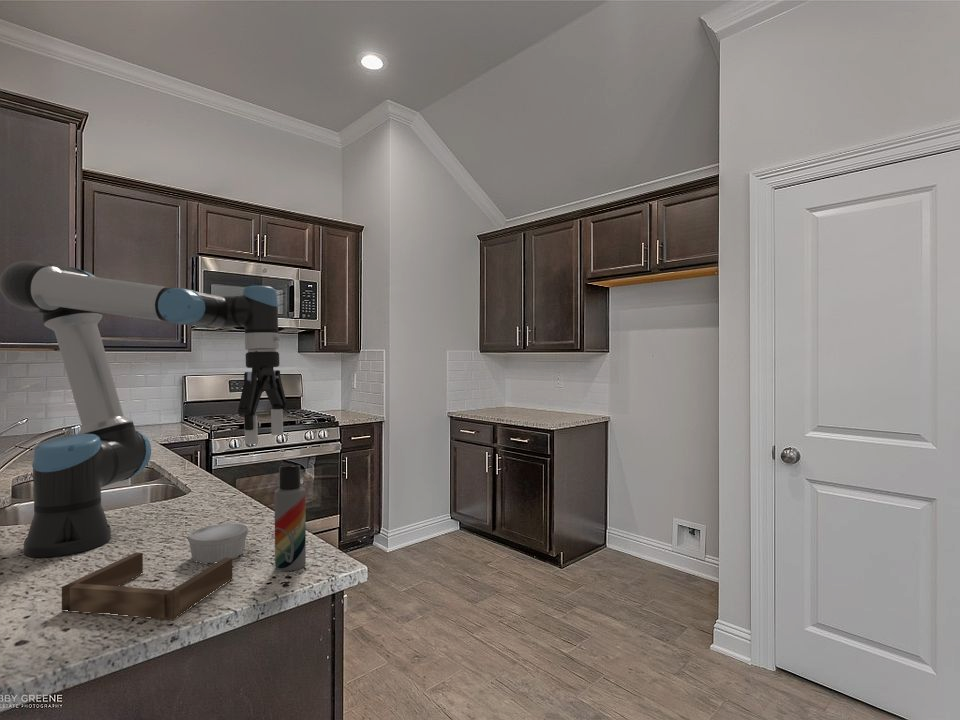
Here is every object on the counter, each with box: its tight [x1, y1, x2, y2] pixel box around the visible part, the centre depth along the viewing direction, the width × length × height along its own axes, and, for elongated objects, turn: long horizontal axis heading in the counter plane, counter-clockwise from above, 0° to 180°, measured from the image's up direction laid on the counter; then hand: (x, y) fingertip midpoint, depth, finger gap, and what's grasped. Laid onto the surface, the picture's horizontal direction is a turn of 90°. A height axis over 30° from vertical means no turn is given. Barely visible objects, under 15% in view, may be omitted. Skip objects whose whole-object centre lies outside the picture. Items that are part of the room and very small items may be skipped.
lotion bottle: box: [274, 464, 307, 572], centre depth 104 cm, size 6×6×20 cm
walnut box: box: [61, 552, 233, 620], centre depth 92 cm, size 20×15×4 cm
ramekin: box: [187, 522, 249, 563], centre depth 110 cm, size 11×11×5 cm
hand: (265, 439), depth 128 cm, fingers open, 13 cm apart
